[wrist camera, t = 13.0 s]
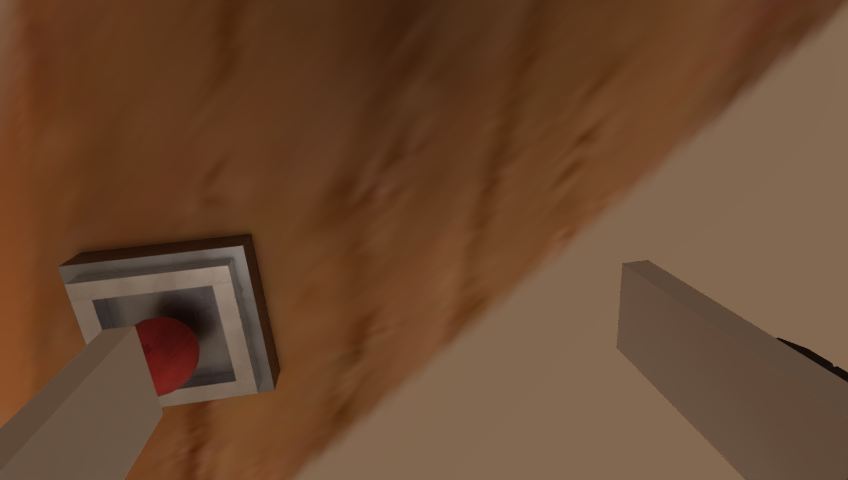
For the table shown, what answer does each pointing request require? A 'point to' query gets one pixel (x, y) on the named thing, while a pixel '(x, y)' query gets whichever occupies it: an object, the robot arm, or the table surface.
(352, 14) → the table surface
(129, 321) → the silver shallow square tray
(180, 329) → the onion
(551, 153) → the table surface
